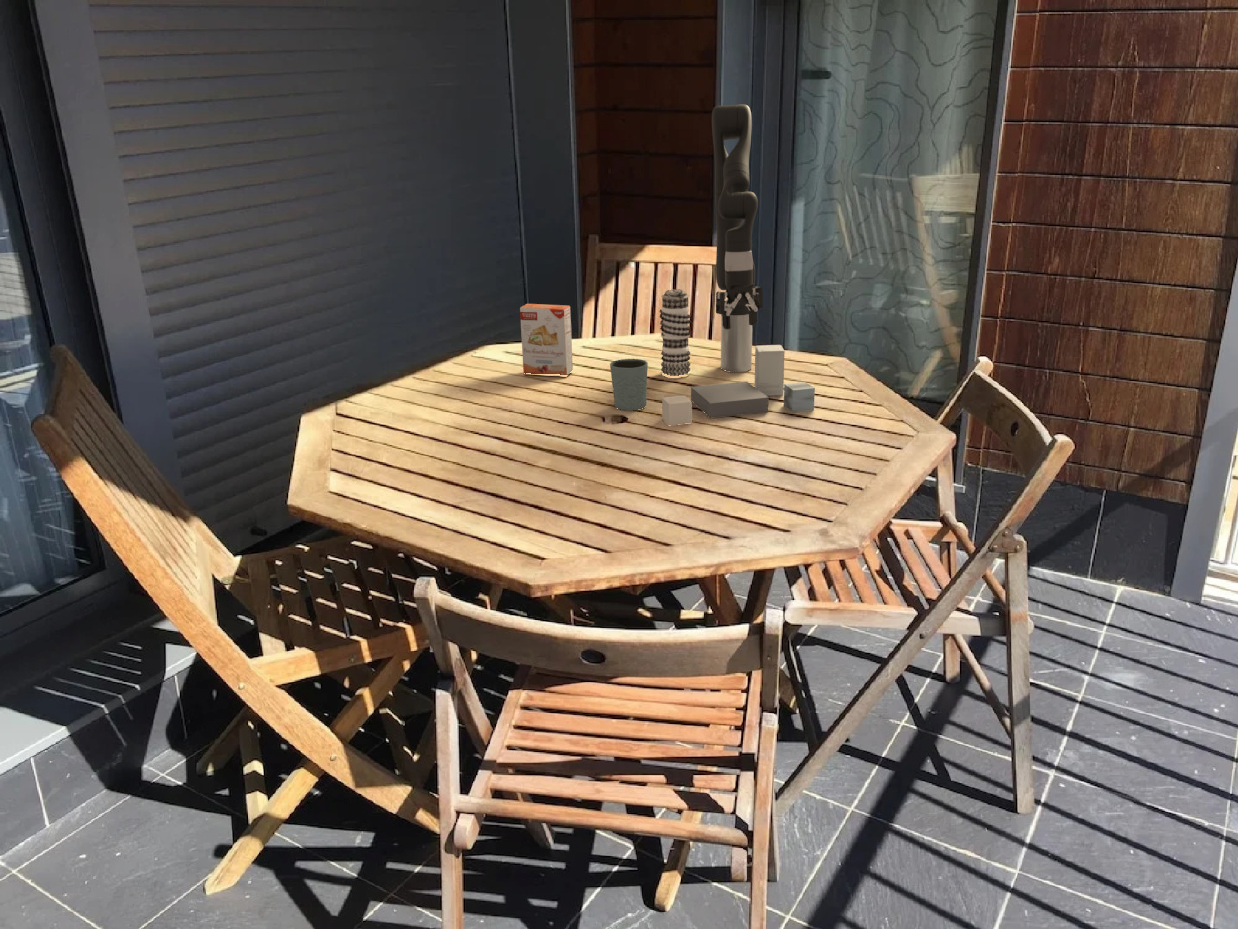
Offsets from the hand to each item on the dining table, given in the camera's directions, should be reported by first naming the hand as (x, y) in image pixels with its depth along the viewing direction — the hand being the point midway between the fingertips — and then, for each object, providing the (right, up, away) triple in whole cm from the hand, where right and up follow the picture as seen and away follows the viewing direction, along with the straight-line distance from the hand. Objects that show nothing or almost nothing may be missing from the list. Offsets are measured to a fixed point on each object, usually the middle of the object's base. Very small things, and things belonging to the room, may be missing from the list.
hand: (739, 327), depth 287 cm
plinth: (-4, -22, -9) cm, 25 cm away
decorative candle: (-16, -11, +22) cm, 30 cm away
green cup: (-30, -22, -7) cm, 38 cm away
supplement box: (+8, -18, +2) cm, 20 cm away
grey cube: (+14, -23, -12) cm, 30 cm away
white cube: (-18, -27, -20) cm, 39 cm away
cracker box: (-55, -11, +25) cm, 61 cm away
